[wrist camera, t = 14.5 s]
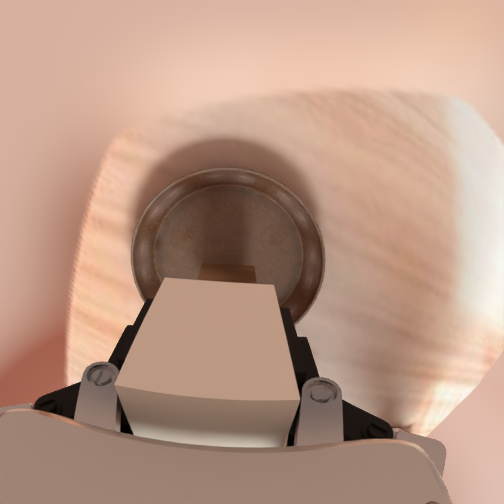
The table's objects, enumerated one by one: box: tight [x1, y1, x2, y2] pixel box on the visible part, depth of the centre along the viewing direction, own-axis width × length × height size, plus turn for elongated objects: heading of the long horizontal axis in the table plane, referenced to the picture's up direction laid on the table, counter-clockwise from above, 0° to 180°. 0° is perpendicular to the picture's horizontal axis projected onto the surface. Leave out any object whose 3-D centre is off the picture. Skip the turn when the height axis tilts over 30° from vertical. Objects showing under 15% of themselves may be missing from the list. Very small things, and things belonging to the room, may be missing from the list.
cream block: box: [114, 278, 300, 447], centre depth 9 cm, size 4×4×6 cm
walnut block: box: [197, 263, 257, 284], centre depth 22 cm, size 4×4×6 cm
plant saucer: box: [131, 168, 325, 326], centre depth 26 cm, size 18×18×3 cm
